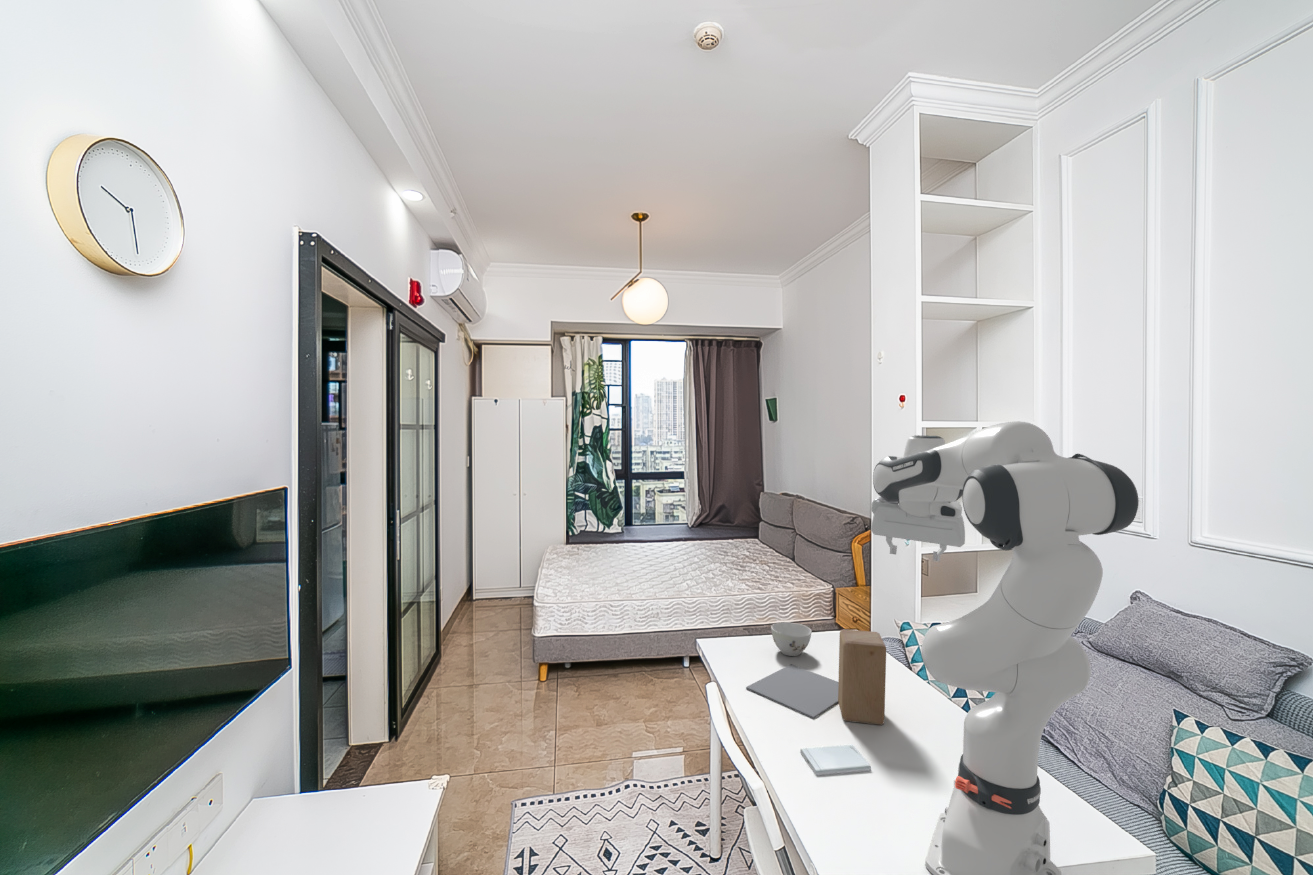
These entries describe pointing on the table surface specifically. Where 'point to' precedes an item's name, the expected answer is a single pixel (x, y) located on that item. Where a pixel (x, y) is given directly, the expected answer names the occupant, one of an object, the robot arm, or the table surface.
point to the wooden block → (862, 676)
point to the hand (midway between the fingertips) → (914, 556)
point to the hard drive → (835, 759)
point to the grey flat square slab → (798, 690)
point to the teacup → (791, 637)
